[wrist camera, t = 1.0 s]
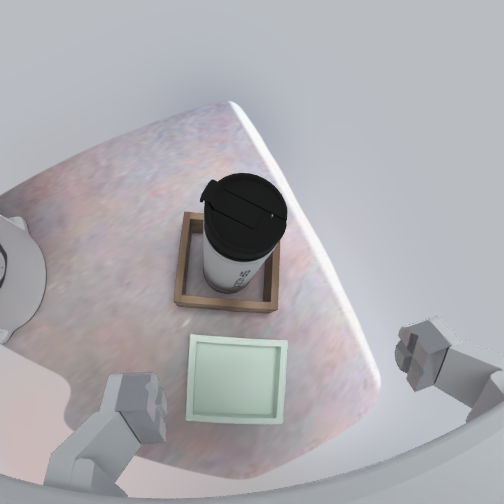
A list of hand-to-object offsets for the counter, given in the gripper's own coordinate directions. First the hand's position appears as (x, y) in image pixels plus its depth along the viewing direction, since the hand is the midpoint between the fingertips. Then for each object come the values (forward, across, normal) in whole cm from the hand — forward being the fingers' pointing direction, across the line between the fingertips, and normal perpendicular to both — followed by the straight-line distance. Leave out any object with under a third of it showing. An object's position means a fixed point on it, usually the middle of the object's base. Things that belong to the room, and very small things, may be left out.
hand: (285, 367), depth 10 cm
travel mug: (+30, +2, +12) cm, 32 cm away
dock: (+21, +3, +23) cm, 31 cm away
